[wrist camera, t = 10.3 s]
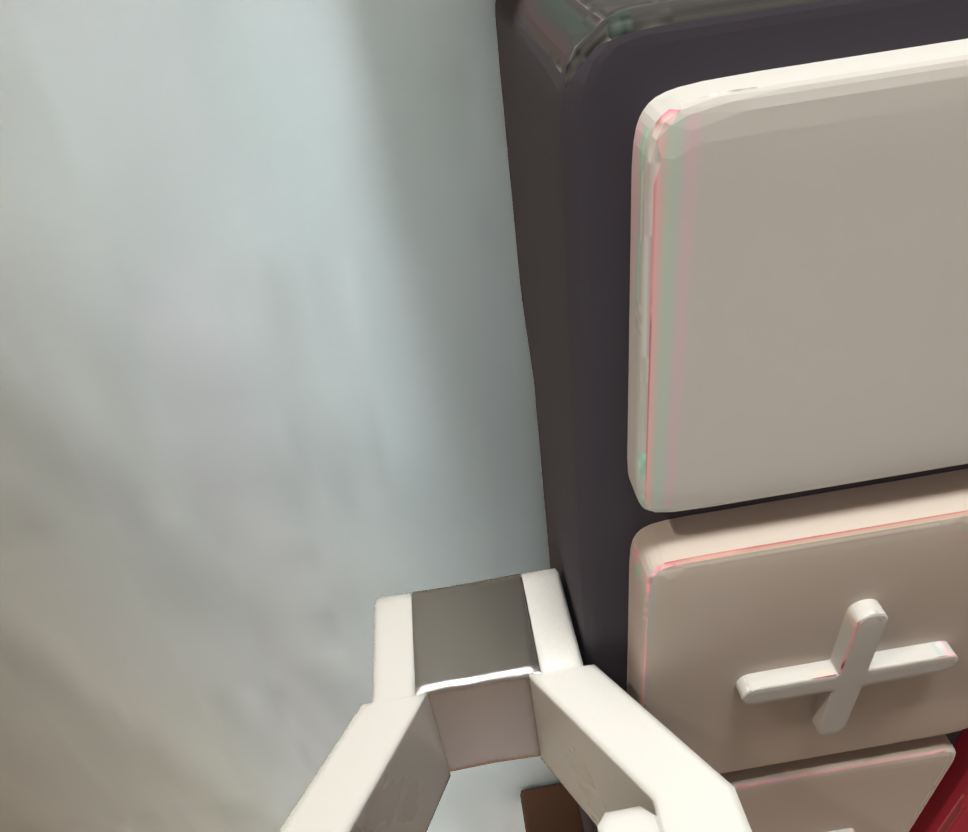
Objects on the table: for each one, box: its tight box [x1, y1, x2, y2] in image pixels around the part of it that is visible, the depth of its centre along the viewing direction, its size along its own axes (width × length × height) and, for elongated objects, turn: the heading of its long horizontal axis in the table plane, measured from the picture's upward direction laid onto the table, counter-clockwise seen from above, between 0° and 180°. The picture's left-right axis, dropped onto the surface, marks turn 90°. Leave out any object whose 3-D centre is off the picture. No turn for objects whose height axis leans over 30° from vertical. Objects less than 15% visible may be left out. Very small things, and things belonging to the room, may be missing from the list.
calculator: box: [496, 0, 968, 832], centre depth 10 cm, size 11×4×15 cm
